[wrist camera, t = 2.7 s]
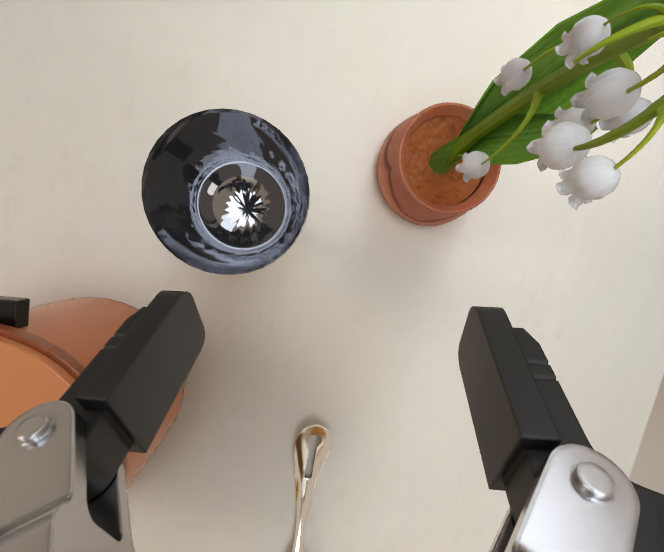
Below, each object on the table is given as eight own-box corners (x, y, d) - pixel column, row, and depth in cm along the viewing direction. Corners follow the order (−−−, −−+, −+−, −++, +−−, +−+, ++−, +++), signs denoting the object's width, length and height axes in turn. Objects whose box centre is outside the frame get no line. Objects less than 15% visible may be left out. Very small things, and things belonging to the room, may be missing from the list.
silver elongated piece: (292, 436, 29) (345, 441, 29) (292, 414, 32) (340, 418, 33) (261, 634, 31) (311, 635, 32) (264, 593, 35) (310, 595, 35)
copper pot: (-15, 481, 30) (-311, 702, 15) (-5, 271, 29) (-316, 293, 14) (180, 486, 32) (83, 686, 17) (197, 290, 31) (107, 326, 16)
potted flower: (430, 262, 33) (827, 299, 8) (343, 209, 32) (513, 70, 7) (491, 157, 33) (1078, -119, 8) (406, 99, 32) (805, -433, 7)
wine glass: (319, 213, 32) (342, 180, 17) (268, 280, 32) (245, 307, 17) (250, 158, 31) (209, 71, 16) (197, 227, 31) (104, 206, 16)
